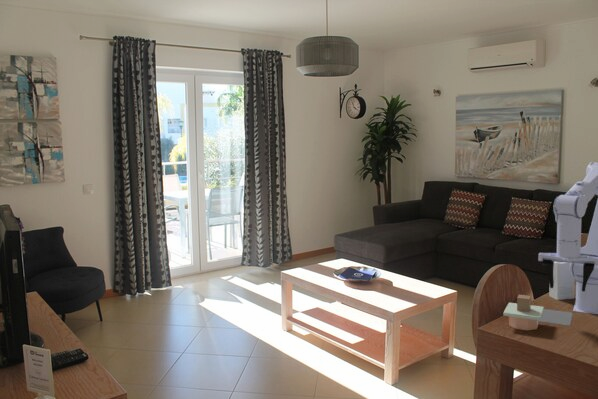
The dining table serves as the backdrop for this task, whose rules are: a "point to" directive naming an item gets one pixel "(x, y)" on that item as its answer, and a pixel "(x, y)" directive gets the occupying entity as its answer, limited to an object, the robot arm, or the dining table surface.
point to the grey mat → (556, 317)
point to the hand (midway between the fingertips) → (567, 288)
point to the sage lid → (523, 309)
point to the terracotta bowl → (523, 323)
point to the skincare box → (562, 282)
